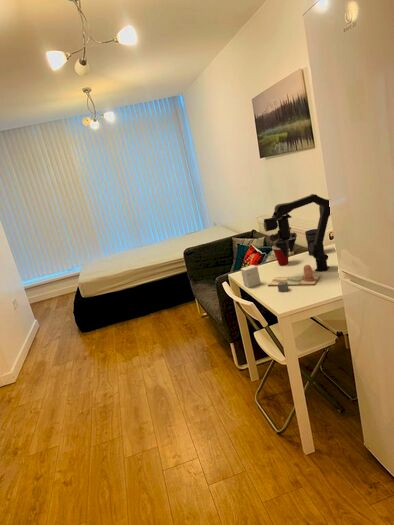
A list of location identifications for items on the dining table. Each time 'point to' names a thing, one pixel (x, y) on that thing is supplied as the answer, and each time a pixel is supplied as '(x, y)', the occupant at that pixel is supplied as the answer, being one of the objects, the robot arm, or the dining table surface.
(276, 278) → the board
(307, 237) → the storage jar
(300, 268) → the dining table surface
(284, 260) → the plastic cup
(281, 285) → the die
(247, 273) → the small box
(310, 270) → the pawn
